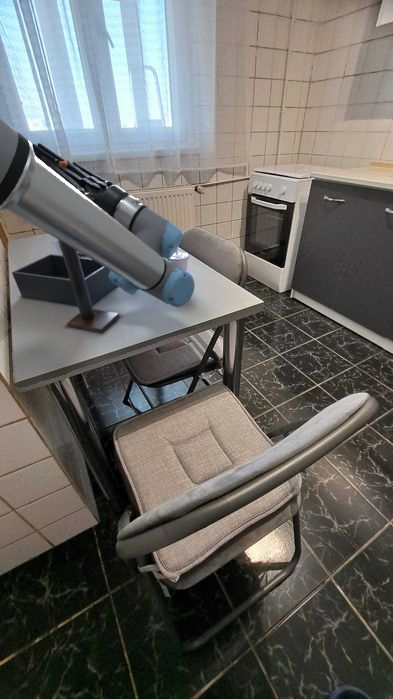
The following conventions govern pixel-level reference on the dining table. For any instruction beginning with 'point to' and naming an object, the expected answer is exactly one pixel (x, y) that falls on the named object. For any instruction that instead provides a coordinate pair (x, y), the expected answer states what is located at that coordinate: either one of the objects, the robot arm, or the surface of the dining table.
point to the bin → (61, 280)
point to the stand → (84, 293)
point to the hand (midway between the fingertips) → (35, 149)
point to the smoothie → (179, 260)
